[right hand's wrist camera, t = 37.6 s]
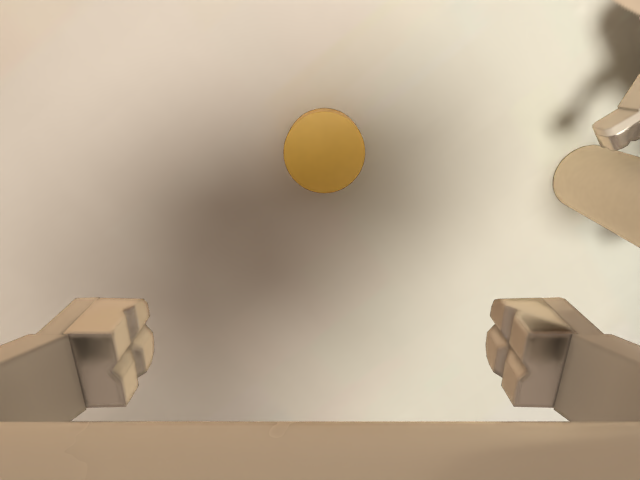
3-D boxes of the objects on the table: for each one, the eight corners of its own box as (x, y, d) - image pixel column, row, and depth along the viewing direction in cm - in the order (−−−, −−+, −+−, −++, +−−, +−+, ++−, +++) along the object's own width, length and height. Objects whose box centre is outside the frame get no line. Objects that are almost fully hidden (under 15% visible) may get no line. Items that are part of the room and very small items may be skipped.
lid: (352, 98, 29) (355, 101, 27) (369, 174, 31) (372, 182, 29) (276, 119, 30) (273, 123, 28) (297, 192, 32) (296, 201, 30)
